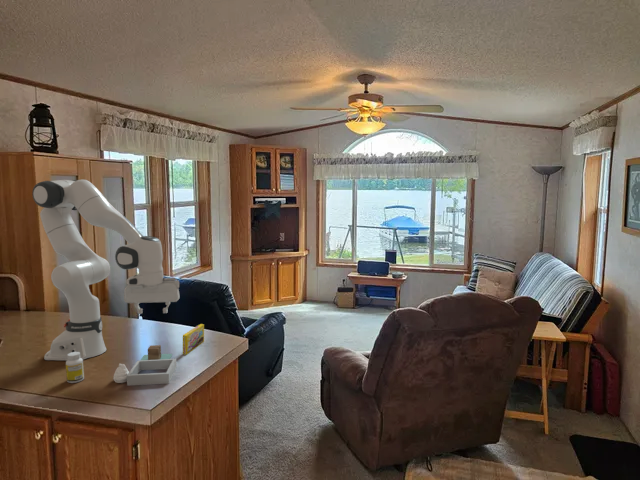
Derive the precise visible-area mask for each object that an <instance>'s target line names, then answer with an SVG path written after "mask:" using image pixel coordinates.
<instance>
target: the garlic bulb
mask: <svg viewBox="0 0 640 480" xmlns="http://www.w3.org/2000/svg"><path fill="white" fill-rule="evenodd" d="M129 372H130V371H129V370H128V368H127V366H126V365H125V364H124V363H119V364H118V367H117V368H116V369H115V372H114V373H113V377H112V378H113V381H114V382H115V383H117V384H123V383H127V375H128V373H129Z"/></svg>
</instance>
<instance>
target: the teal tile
mask: <svg viewBox="0 0 640 480" xmlns="http://www.w3.org/2000/svg"><path fill="white" fill-rule="evenodd" d="M172 357H173V353H161V358H160V359H172ZM140 360H148V354H143V356H142V357H141V358H140Z"/></svg>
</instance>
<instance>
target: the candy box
mask: <svg viewBox="0 0 640 480" xmlns="http://www.w3.org/2000/svg"><path fill="white" fill-rule="evenodd" d="M204 342H205V324H203V323H200V324H198V325H196V326H195V327H193V328H192V329H191V330H189V331H187V332H186V333H183V334H182V355H185V356H187V355H188V354H189V353H191V352H192V351H194V350H195V349H196V348H197V347H199V346H200V345H202V344H203V343H204Z"/></svg>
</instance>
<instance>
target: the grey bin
mask: <svg viewBox="0 0 640 480" xmlns="http://www.w3.org/2000/svg"><path fill="white" fill-rule="evenodd" d="M176 369H177V358H171V359H159V360H141V359H140V360H139V359H138V360H137V361H136V362H135V363H134V364H133V366H132V368H131V369H130V371H129V373H128V375H127V381H126V386H128V387H129V386H141V385H142V386H145V385H159V384H160V385H162V384H163V385H164V384H165V385H166V384H170V382H171V380H172V378H173V376H174V374H175V372H176ZM155 370H156V371H157V370H158V371H159V370H166V371H165V372H152V373H150V372H149V373H140V371H155Z"/></svg>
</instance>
